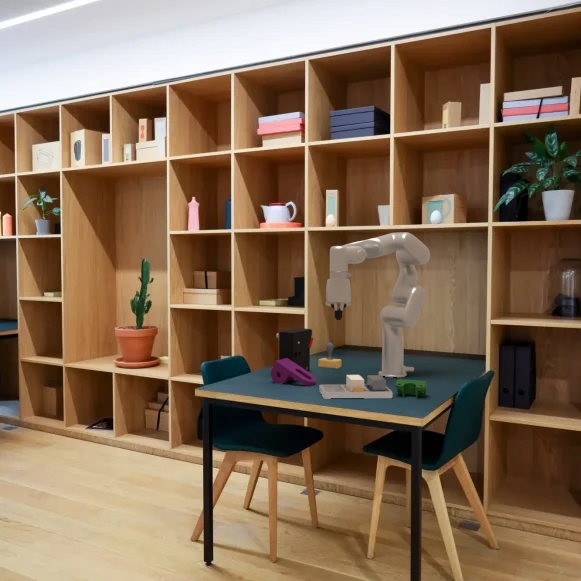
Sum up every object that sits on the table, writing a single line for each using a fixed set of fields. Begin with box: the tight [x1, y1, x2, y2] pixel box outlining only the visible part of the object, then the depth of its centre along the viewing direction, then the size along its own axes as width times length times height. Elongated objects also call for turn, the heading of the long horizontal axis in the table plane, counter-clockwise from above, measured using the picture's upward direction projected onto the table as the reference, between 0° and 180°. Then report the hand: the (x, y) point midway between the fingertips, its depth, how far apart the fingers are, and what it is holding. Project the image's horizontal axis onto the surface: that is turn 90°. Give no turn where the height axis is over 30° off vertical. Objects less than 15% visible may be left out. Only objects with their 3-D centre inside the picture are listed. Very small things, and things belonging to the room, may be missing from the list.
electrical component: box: [276, 327, 314, 375], centre depth 282 cm, size 18×10×20 cm, turn 150°
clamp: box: [395, 378, 428, 399], centre depth 238 cm, size 12×6×9 cm, turn 64°
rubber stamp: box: [317, 342, 342, 369], centre depth 302 cm, size 10×6×12 cm, turn 62°
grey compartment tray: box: [318, 374, 393, 400], centre depth 240 cm, size 26×14×6 cm, turn 95°
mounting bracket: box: [270, 358, 317, 387], centre depth 262 cm, size 9×8×18 cm
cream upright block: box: [345, 374, 365, 392], centre depth 240 cm, size 10×5×6 cm, turn 6°
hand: (338, 319), depth 258 cm, fingers closed
